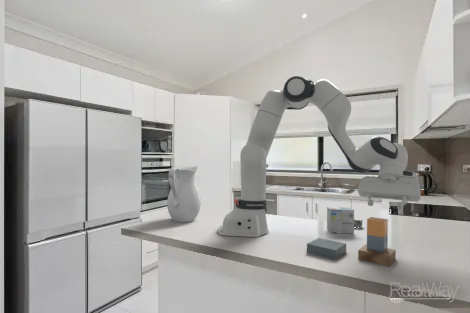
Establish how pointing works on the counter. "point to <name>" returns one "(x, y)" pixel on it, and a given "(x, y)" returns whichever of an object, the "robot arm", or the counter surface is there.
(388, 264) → the stand
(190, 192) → the pitcher
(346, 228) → the light bulb box
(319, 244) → the stand
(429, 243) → the counter surface
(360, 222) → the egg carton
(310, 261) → the counter surface
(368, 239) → the orange and blue block
